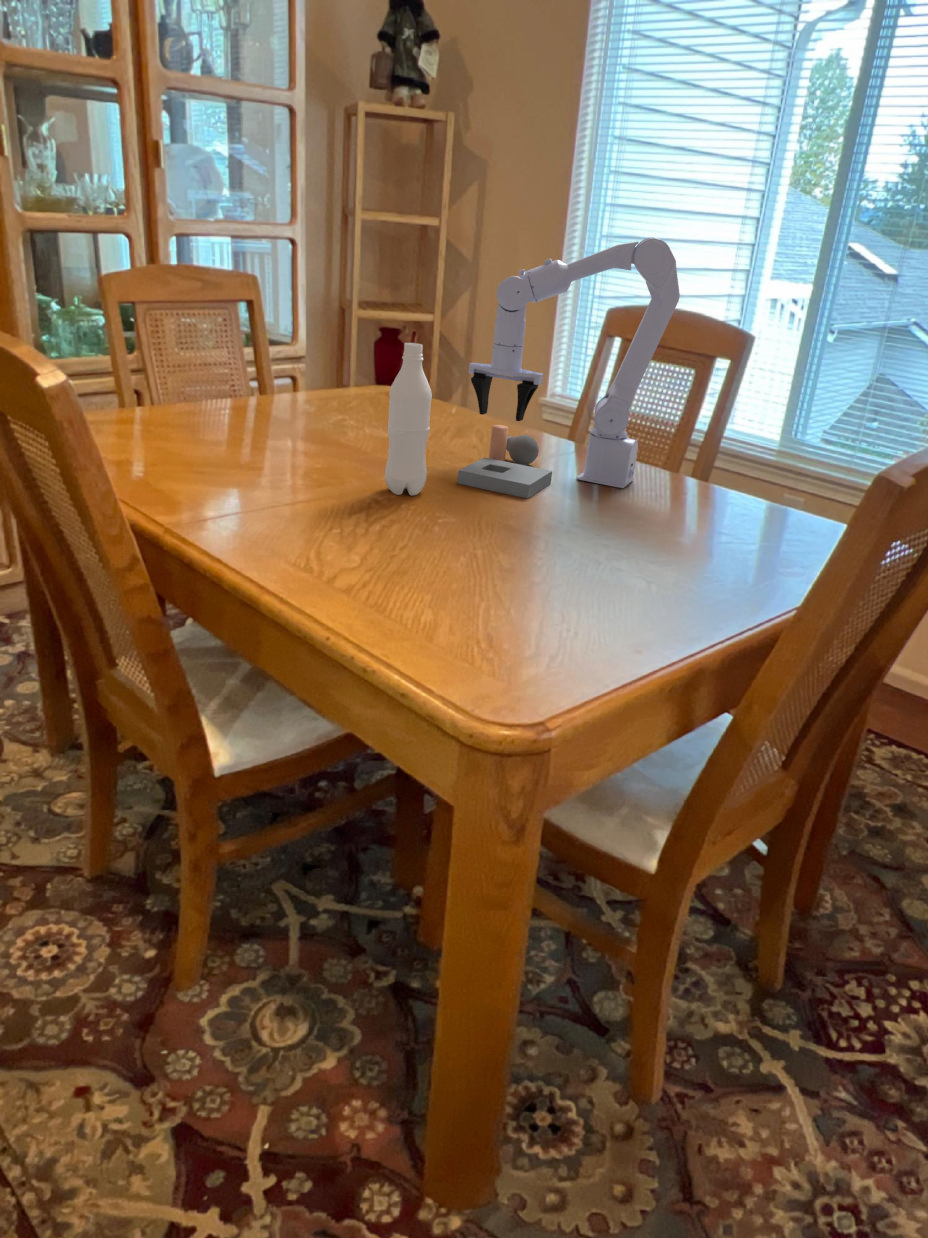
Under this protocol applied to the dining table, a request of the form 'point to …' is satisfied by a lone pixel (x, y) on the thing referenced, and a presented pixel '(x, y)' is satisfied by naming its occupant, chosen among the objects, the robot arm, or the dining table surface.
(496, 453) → the peg
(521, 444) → the light bulb
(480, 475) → the socket board
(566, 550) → the dining table surface
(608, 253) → the robot arm
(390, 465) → the water bottle
